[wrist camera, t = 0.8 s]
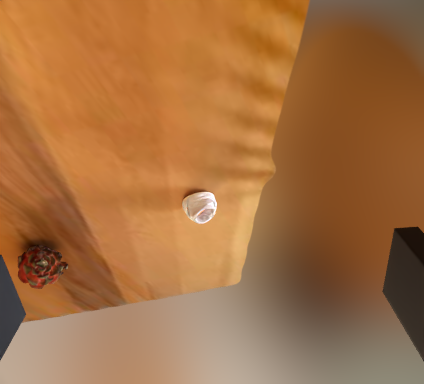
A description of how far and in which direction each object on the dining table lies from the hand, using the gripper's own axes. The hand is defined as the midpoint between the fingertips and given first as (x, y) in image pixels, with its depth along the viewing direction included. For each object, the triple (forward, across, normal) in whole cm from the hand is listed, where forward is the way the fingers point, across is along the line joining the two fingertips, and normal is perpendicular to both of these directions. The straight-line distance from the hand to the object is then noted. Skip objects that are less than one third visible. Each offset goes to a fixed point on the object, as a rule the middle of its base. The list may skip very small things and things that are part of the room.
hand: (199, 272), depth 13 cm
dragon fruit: (+53, -36, -36) cm, 74 cm away
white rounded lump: (+54, -3, -27) cm, 61 cm away
